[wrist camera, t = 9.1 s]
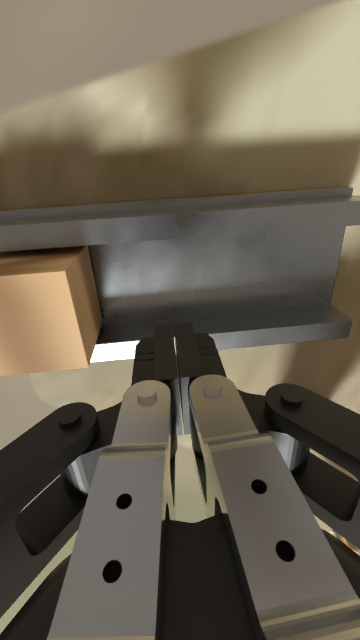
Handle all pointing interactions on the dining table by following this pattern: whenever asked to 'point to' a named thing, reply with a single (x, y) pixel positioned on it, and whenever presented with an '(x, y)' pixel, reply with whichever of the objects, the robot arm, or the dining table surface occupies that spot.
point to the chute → (204, 263)
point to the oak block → (47, 310)
